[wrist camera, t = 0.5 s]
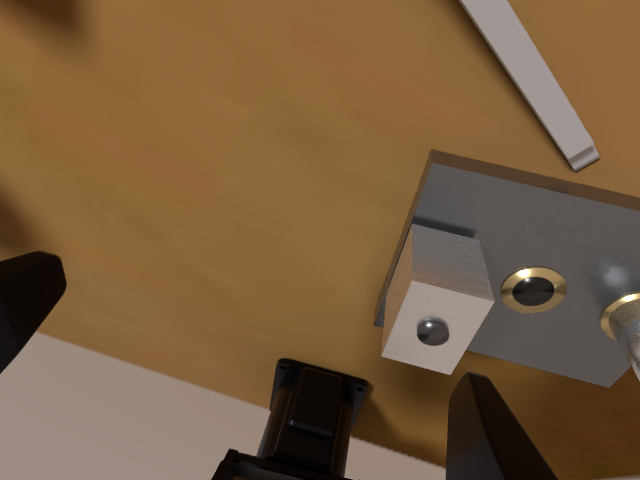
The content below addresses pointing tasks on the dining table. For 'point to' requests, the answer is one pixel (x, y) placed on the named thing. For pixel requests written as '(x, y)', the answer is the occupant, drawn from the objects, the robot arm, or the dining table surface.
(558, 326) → the plate
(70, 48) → the dining table surface
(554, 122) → the caliper
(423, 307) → the block
